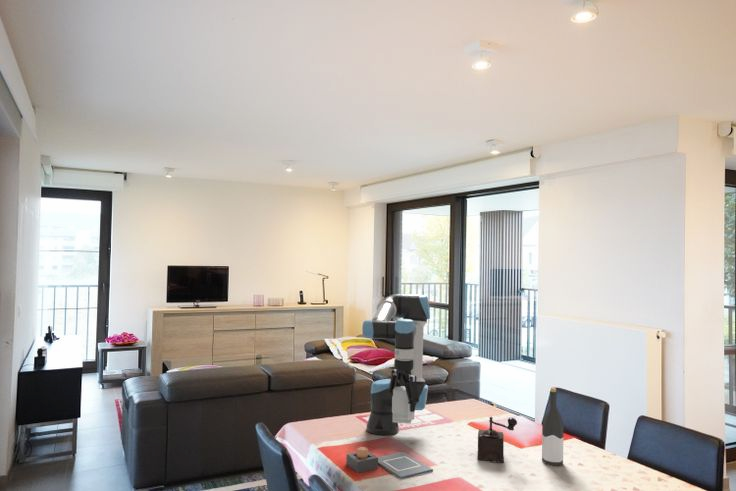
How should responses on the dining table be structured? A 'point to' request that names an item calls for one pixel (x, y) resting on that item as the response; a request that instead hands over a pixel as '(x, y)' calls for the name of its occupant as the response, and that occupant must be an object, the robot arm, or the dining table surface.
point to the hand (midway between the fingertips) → (402, 415)
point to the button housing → (362, 462)
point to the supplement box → (400, 405)
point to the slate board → (403, 465)
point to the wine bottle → (552, 434)
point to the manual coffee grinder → (493, 442)
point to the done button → (362, 453)
